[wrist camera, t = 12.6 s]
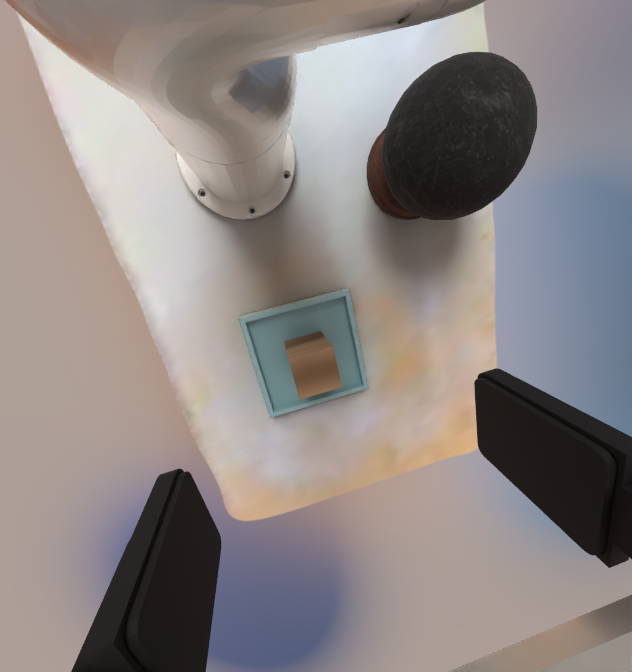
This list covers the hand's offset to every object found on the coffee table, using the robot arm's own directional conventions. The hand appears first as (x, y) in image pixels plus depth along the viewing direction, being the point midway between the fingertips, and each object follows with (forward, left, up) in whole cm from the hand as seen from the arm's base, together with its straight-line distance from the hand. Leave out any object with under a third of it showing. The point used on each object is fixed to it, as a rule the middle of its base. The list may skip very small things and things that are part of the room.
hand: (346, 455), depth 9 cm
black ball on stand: (-12, +19, -30) cm, 38 cm away
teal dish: (+7, +1, -30) cm, 31 cm away
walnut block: (+7, +1, -29) cm, 30 cm away
